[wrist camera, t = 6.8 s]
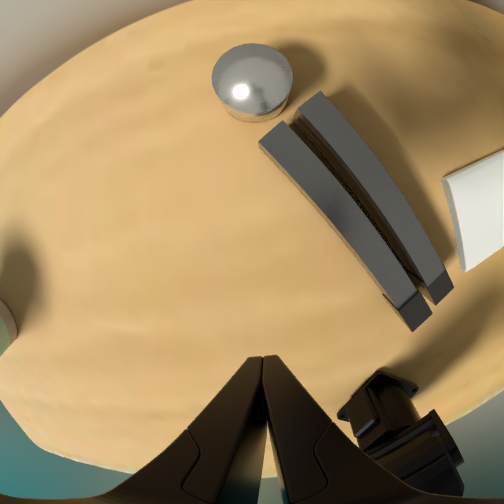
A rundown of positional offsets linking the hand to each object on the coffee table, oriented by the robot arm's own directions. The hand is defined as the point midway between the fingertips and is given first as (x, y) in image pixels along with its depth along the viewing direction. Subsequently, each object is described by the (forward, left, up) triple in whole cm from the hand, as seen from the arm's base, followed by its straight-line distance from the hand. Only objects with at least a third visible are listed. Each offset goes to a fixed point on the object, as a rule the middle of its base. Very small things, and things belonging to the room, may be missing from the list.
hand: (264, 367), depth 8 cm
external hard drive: (-16, -14, -13) cm, 25 cm away
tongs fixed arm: (-5, -7, -12) cm, 15 cm away
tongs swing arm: (-2, -7, -11) cm, 13 cm away
